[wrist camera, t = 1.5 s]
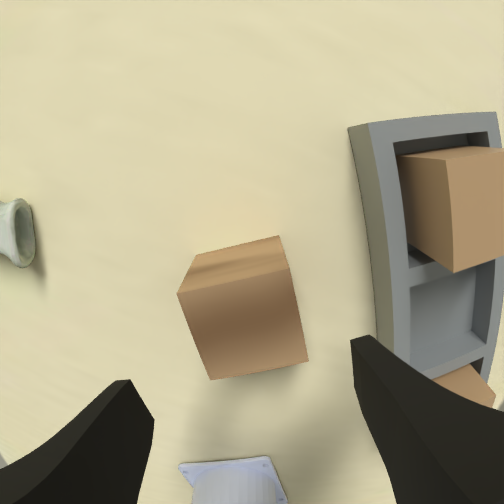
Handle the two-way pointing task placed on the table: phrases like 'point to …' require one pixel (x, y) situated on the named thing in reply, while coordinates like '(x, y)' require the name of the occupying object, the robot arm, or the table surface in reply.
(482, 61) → the table surface
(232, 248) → the walnut block
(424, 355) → the pocket tray
